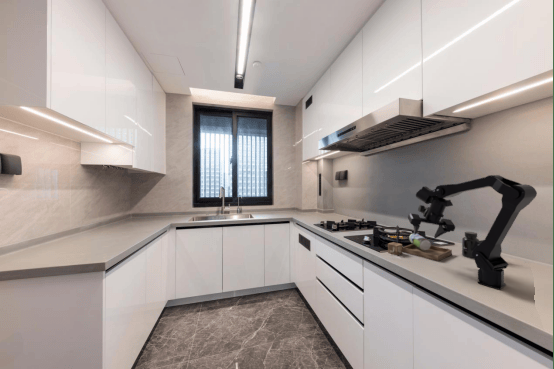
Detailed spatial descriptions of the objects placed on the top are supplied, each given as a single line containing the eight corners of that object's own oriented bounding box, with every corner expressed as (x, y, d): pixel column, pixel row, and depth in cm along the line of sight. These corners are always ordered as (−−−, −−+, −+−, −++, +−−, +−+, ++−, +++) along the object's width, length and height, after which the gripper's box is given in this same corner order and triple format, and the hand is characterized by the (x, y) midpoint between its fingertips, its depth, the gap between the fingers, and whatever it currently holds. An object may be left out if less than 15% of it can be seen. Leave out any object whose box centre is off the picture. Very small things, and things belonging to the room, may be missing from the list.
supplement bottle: (460, 256, 119) (460, 232, 118) (464, 253, 123) (464, 230, 122) (477, 259, 113) (477, 235, 113) (481, 256, 117) (481, 232, 117)
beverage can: (425, 239, 121) (413, 228, 133) (416, 250, 123) (405, 238, 135) (435, 244, 122) (422, 233, 133) (426, 255, 124) (414, 243, 135)
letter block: (402, 253, 125) (402, 244, 125) (397, 255, 123) (396, 246, 122) (393, 251, 130) (393, 242, 129) (387, 253, 127) (387, 243, 127)
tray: (451, 254, 121) (451, 249, 121) (437, 261, 113) (437, 256, 113) (417, 246, 136) (417, 242, 135) (402, 252, 127) (402, 247, 127)
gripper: (451, 203, 114) (439, 229, 121) (410, 197, 117) (400, 222, 124) (462, 216, 104) (448, 243, 111) (416, 209, 107) (405, 236, 115)
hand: (424, 235), depth 116 cm, fingers open, 9 cm apart
